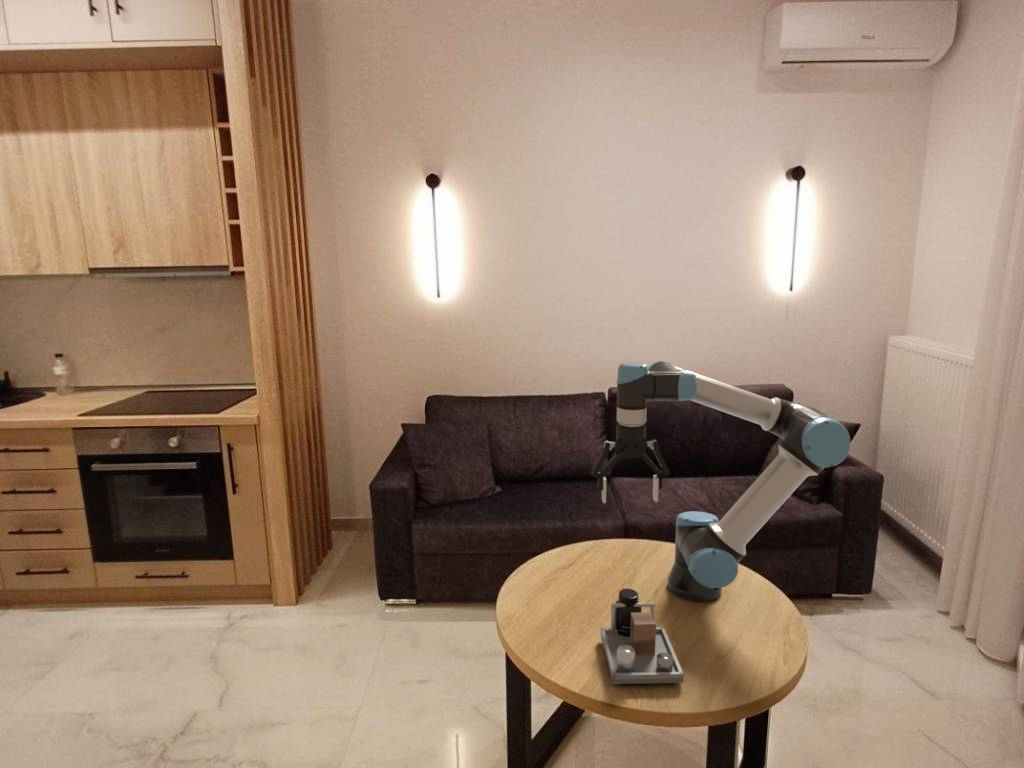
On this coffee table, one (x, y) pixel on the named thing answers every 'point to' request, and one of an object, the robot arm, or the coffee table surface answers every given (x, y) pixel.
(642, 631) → the walnut block
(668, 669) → the silver metal dome
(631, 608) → the supplement bottle
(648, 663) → the grey tray with handle
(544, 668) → the coffee table surface
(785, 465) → the robot arm
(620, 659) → the silver rounded piece
